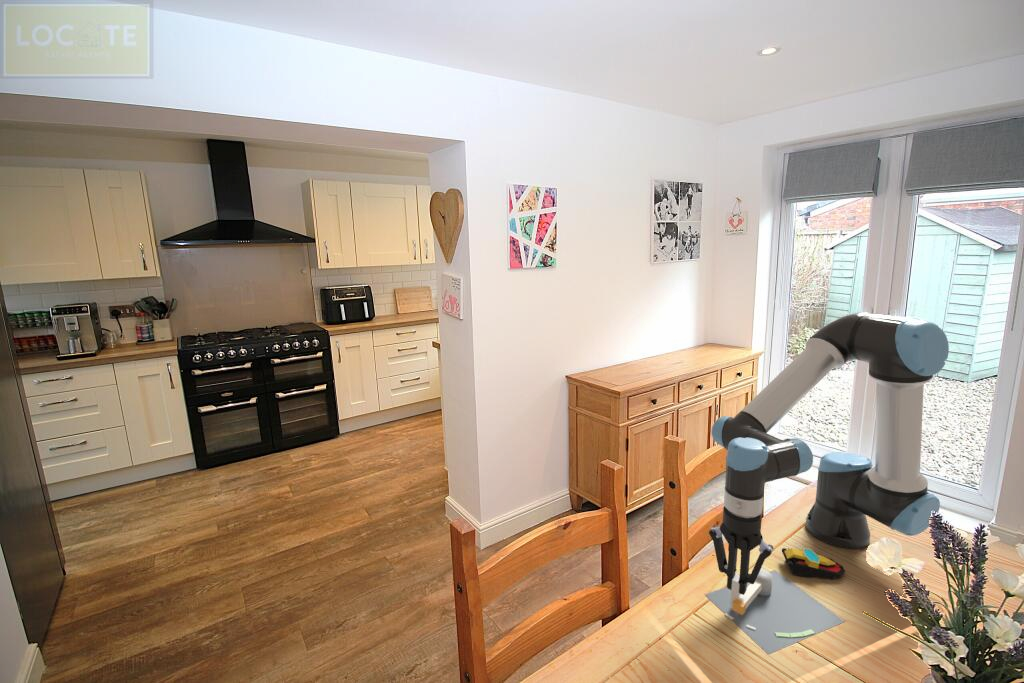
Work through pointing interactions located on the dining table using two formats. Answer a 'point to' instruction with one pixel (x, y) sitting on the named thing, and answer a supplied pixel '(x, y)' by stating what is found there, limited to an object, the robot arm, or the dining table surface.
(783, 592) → the dial board
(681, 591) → the dining table surface
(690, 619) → the dining table surface
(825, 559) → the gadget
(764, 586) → the white mallet
